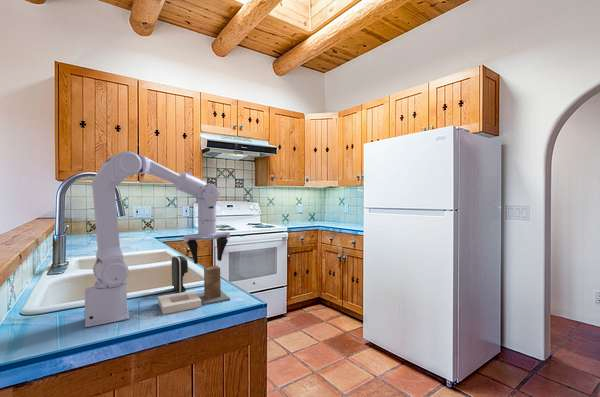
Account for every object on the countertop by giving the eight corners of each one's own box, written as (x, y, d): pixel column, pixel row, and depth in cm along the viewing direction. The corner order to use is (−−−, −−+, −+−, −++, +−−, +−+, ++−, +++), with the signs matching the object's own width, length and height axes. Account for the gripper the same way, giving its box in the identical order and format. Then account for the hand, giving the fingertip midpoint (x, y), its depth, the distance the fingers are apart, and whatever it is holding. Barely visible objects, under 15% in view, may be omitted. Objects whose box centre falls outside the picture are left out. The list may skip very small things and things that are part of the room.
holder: (163, 314, 83) (162, 307, 83) (158, 303, 92) (158, 296, 92) (201, 306, 88) (201, 300, 88) (193, 296, 97) (193, 290, 97)
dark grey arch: (189, 291, 103) (188, 257, 102) (177, 293, 100) (177, 258, 100) (182, 286, 108) (182, 254, 108) (171, 288, 106) (171, 255, 106)
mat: (203, 305, 90) (203, 303, 90) (195, 295, 98) (195, 294, 98) (230, 299, 94) (230, 298, 94) (220, 291, 102) (220, 289, 102)
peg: (207, 299, 93) (207, 269, 93) (204, 295, 97) (203, 267, 97) (220, 296, 95) (220, 268, 95) (216, 293, 99) (216, 265, 99)
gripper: (186, 222, 93) (187, 267, 93) (232, 219, 100) (233, 261, 100) (181, 220, 99) (182, 262, 99) (225, 218, 106) (226, 257, 106)
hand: (207, 261), depth 100 cm, fingers open, 7 cm apart
